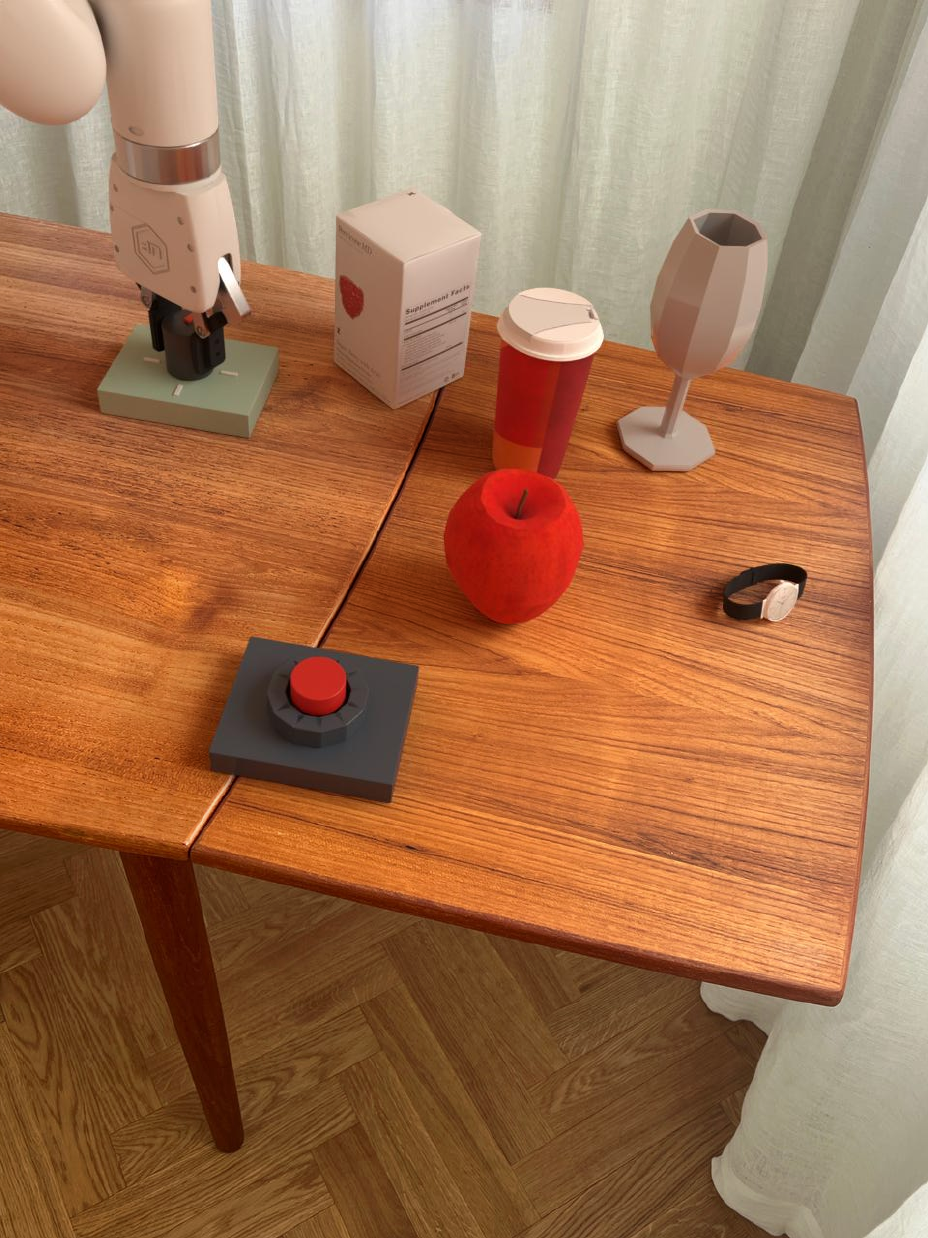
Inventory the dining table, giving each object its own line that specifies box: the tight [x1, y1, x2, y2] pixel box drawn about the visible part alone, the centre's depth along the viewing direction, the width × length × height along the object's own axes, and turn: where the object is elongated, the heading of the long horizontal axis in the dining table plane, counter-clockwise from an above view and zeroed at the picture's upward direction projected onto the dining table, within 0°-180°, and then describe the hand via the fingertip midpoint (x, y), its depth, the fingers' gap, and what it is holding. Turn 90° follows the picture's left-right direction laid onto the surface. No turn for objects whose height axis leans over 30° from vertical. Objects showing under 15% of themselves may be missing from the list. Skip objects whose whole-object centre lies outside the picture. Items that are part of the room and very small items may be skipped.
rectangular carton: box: [333, 187, 483, 410], centre depth 98 cm, size 9×9×15 cm
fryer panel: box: [96, 323, 280, 439], centre depth 97 cm, size 13×10×3 cm
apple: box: [442, 468, 585, 625], centre depth 80 cm, size 10×10×12 cm
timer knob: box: [161, 308, 213, 381], centre depth 94 cm, size 4×4×5 cm
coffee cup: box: [492, 287, 605, 480], centre depth 91 cm, size 8×8×15 cm
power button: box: [290, 657, 346, 716], centre depth 72 cm, size 4×4×2 cm
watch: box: [722, 562, 809, 622], centre depth 86 cm, size 8×5×4 cm, turn 122°
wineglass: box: [615, 208, 769, 472], centre depth 92 cm, size 9×9×21 cm
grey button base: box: [208, 636, 420, 804], centre depth 74 cm, size 12×10×4 cm
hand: (189, 353), depth 95 cm, fingers closed on timer knob, 4 cm apart
